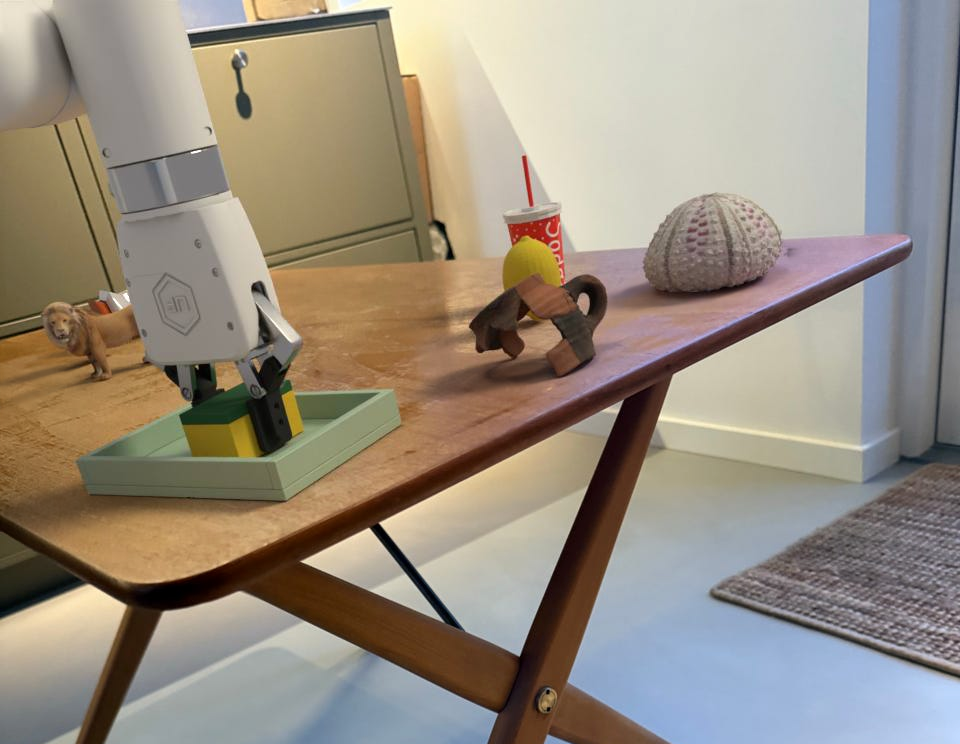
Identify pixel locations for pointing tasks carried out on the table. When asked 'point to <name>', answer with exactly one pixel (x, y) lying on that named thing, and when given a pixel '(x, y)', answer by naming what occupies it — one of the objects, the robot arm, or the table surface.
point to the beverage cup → (537, 223)
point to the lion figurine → (89, 332)
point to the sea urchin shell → (712, 244)
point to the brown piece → (544, 318)
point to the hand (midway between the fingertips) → (249, 443)
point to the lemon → (530, 265)
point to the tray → (273, 476)
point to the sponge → (231, 424)
